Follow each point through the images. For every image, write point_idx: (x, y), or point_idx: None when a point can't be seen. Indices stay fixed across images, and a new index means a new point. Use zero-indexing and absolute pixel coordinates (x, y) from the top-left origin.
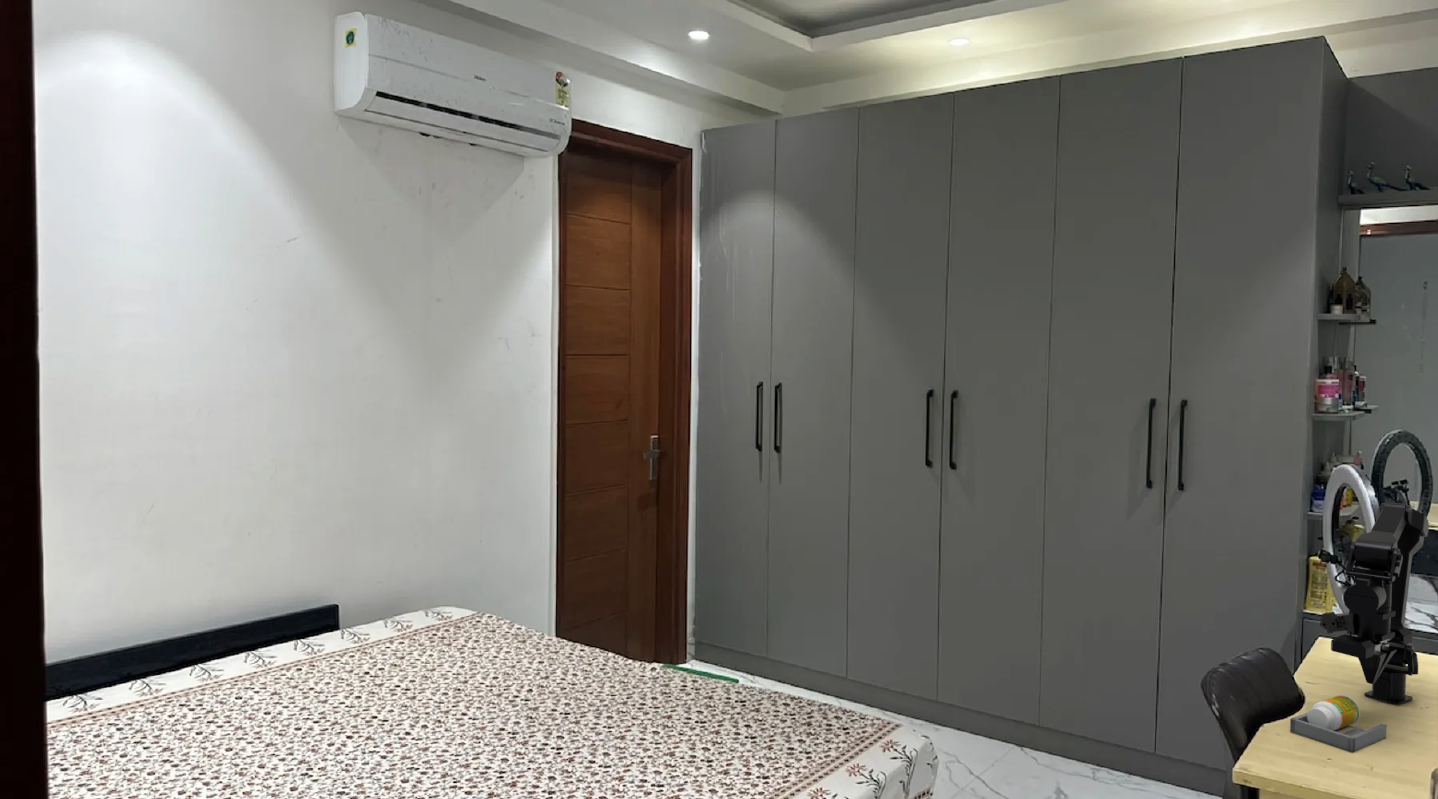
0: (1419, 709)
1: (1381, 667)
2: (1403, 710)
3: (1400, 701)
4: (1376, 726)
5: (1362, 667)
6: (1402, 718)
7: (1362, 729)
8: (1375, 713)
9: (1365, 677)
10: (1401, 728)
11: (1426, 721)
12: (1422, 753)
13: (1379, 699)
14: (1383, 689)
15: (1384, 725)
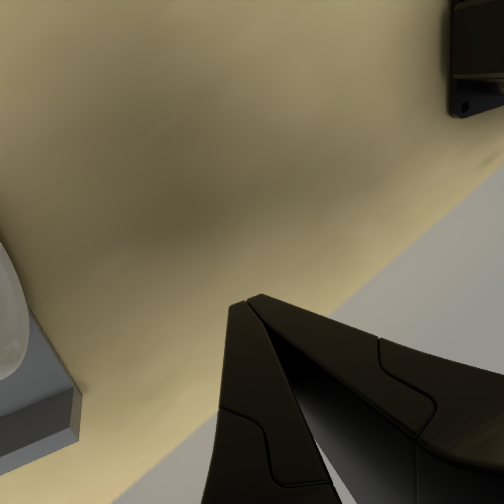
0: (471, 171)
1: (349, 488)
2: (418, 163)
3: (480, 108)
4: (8, 456)
5: (218, 410)
6: (336, 231)
7: (36, 329)
8: (291, 159)
9: (226, 332)
10: None
11: (380, 270)
12: (103, 498)
13: (451, 38)
14: (494, 58)
15: (63, 445)
